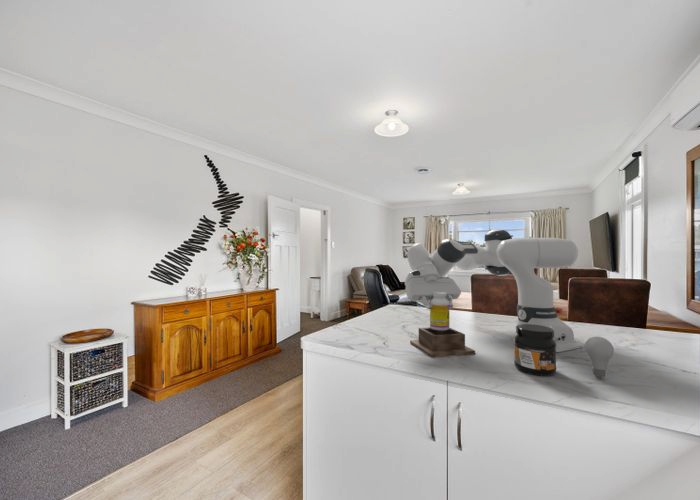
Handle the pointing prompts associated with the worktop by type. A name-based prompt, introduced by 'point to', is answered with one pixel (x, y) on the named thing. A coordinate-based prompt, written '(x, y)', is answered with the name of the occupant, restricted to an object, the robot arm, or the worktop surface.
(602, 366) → the lightbulb
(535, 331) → the supplement container
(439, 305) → the supplement bottle
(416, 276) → the robot arm
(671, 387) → the worktop surface
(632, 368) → the worktop surface
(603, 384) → the worktop surface
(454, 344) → the bottle caddy
